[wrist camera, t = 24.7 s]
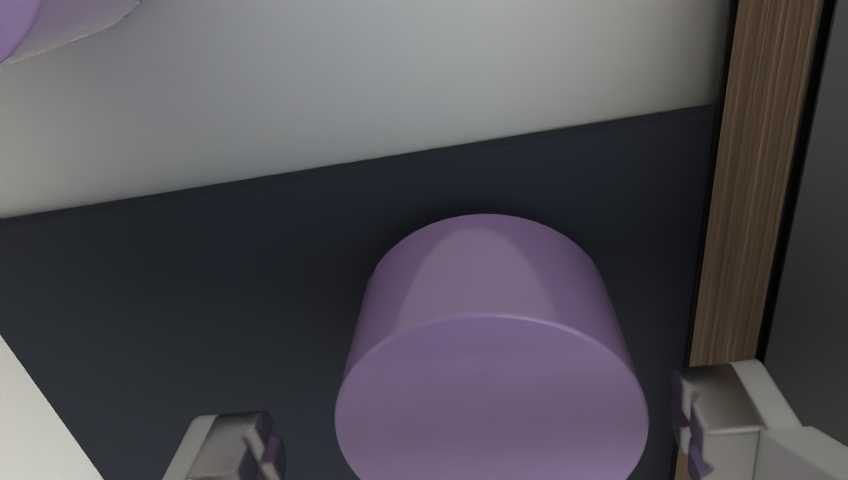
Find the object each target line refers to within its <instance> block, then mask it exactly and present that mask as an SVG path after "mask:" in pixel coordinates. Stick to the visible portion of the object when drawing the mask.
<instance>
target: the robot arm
mask: <svg viewBox="0 0 848 480" xmlns="http://www.w3.org/2000/svg"><path fill="white" fill-rule="evenodd" d="M670 384H671V387H672V389H673V392H674V394H675V395H674V397H673V398H672V399H671V400H670V417H671V424H672V429H673V432H674V436H675V439H676V442H677V444H678V447H679V450H680V451H681V452H683V453H684V454H685V455H687V456H688V473H689V475H690V478H691V480H848V447H847V446H845V445H843V444H842V443H840V442H838V441H837V440H835V439H833V438H832V437H830V436H828V435H826V434H825V433H823V432H821V431H820V430H818V429H816V428H814V427H813V426H806V427H803V426H802V424H801V423H800V421H799V420H798V418H797V417H796V415H795V413H794V412H793V410H792V409H791V407H790V406H789V404H788V403H787V401H786V400H785V398H784V397H783V395H782V393H781V392H780V390H779V389H778V387H777V386H776V384H775V383H774V381H773V380H772V378H771V377H770V375H769V373H768V372H767V370H766V369H765V367H764V366H763V364H762V363H761V362H760V361H758V360H757V359H753V360H744V361H735V362H728V363H718V364H709V365H700V366H691V367H682V368H673V369H672V371H671V374H670ZM273 424H274V421H273V420H272V418H271V416H270V414H269V412H267V411H253V412H239V413H226V414H219V415H206V416H198V417H197V418H195V419H194V420H193V421H192V422H191V424H190V426H189V428H188V430H187V432H186V434H185V436H184V438H183V440H182V442H181V444H180V446H179V448H178V450H177V452H176V454H175V456H174V457H173V459H172V461H171V463H170V465H169V467H168V469H167V471H166V473H165V475H164V477H163V479H162V480H283V479H284V476H285V472H286V458H287V456H286V450H285V445H284V443H283V441H282V439H281V437H280V436H278V435H277V434H275V433H274V432H272V431H271V430H272V427H273Z"/></svg>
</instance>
